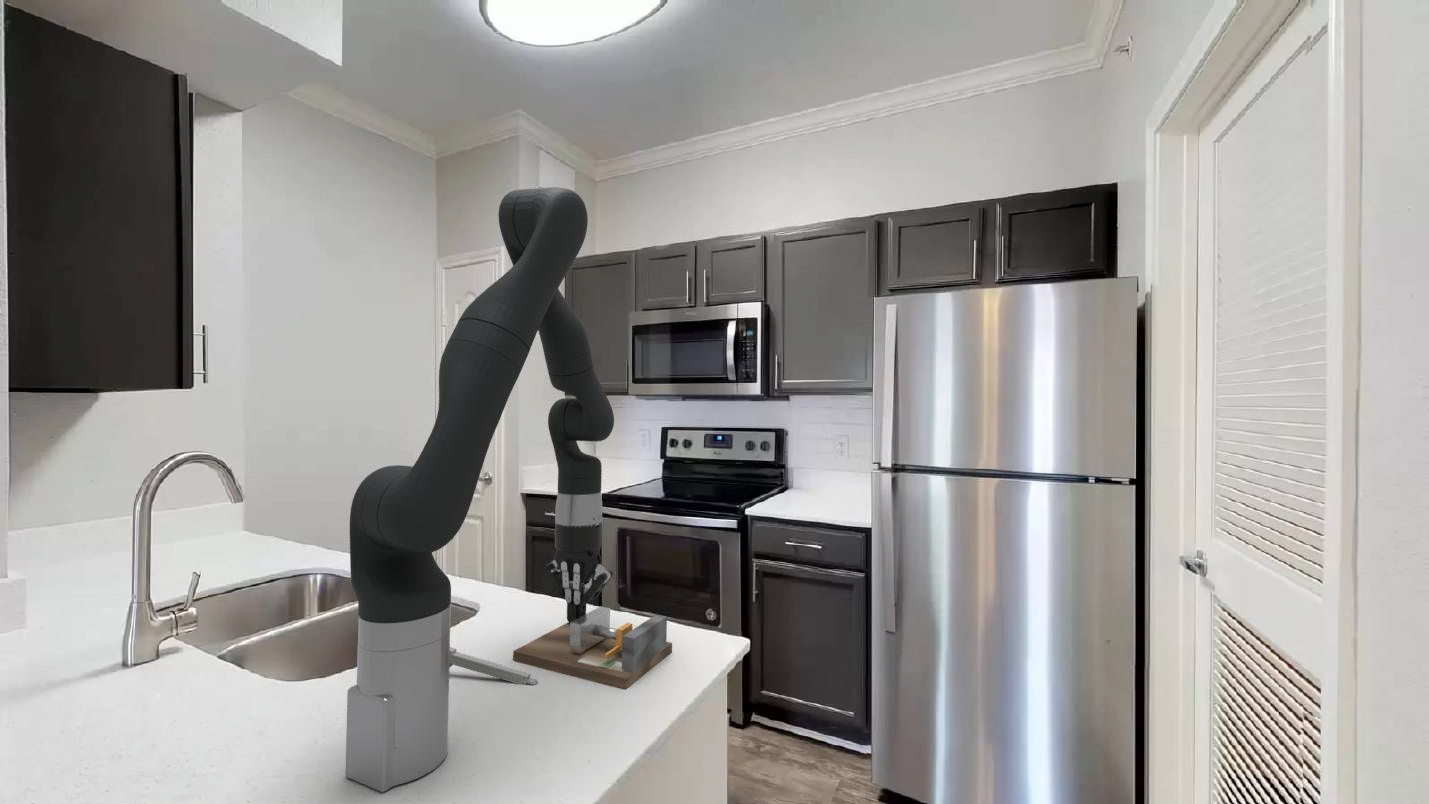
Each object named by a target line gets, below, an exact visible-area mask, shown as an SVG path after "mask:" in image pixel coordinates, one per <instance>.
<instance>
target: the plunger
mask: <svg viewBox="0 0 1429 804" xmlns="http://www.w3.org/2000/svg"><path fill="white" fill-rule="evenodd" d="M610 623H611V608H610V607H604V606H601V605H600V606H599V607H596V608H595V609H593V610H591V611H588V612H586V614H585V615H583V616H581V617H579V618H577V619H576V620H574V621H572V622H570V651H572V652H576V653H582V652H583V651H585V650H586V649H588V648H590V647H591V646H593V645H595V644H596V643H598V642H599V641H601V640H603V639H604V638H610V639H614V640H616V635H617V629H618V628H614V627H611V624H610Z"/></svg>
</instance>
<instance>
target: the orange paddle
mask: <svg viewBox="0 0 1429 804" xmlns="http://www.w3.org/2000/svg"><path fill="white" fill-rule="evenodd" d="M616 629H617V635H616V647H615V648H613V649H612V650H610V651H609V652H607V653H606V654H605V658H606V659H607V658H609V657H610V656H612V655H613V654H615V653H616V652H617V651H619V650H622V636H624V635H625V634H627V633H628V632H630V631H631V630H633V623H630V622H626V623H624V624H622V625H621V626H620V627H617V628H616Z"/></svg>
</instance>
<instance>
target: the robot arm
mask: <svg viewBox="0 0 1429 804" xmlns="http://www.w3.org/2000/svg"><path fill="white" fill-rule="evenodd" d="M497 214H498V224H499V229H500V233H501V237H502V240H503V244H504V246H505V249H506V251H507V254H508V256H509V258H510V261H511V263H512V266H511V268H509V270H507V272H505V274H503V275H502V276H501V277H500V278H498V279H497V280H496V281H495V282H493V283H492V284H491V285H489V286H488V287H487V288H486V289H485V290H483V292H481V293H480V294H479V295H478V296H476V298H475V299H473V301H472V302H471V303H470V304H469V305H468V306H467V308H465V310H464V311H463V313H462V315H460V318H459V319H458V321H457V323H456V325H455V328H454V329H453V331H452V333H451V335H450V337H449V338H448V341H447V343H446V345H445V347H444V350H443V353H442V355H441V358H440V363H439V367H438V368H439V370H438V371H439V372H438V410H437V413H436V417H435V418H436V419H435V422H434V425H433V427H432V431H431V433H430V434H429V436H428V438H427V441H426V443H425V444H424V447H423V448H422V451H421V452H420V455H419V456H418V458H417V460H416V461H415V463H414V465H412V466H411V465H399V464H396V465H387V466H383V467H380V468H378V469H376V470H374V471H373V472H371V473H369V474H368V475H367V476H366V477H364V479H363V480H362V481H361V482H360V484H359V485H358V487H357V489H356V490H355V493H354V495H353V498H352V501H351V506H350V515H349V558H350V562H349V565H350V566H349V567H350V579H351V586H352V589H353V592H354V595H355V597H356V599H357V604H358V613H357V614H358V618H357V619H358V620H357V621H358V623H357V626H358V628H357V650H356V651H357V654H356V655H357V659H356V662H357V663H356V684H354V685H353V686H351V687H349V688H348V690H347V696H346V697H347V698H346V702H347V703H346V734H345V735H346V736H345V737H346V739H345V741H346V742H345V777H346V778H349V779H351V780H353V781H356V782H357V783H360V784H362V785H365V786H367V787H369V788H371V789H374V790H377V791H378V792H381V793H383V792H386V791H388V790H389V789H391V788H392V787H395V786H399V785H402V784H406V783H409V782H412V781H414V780H416V779H419V778H422V777H423V776H426V775H427V774H428V773H430V772H432V771H433V770H435V769H437V767H438V766H440V765H441V763H442V762H443V761H444V760H445V758H446V757H447V754H448V745H449V743H448V741H449V740H448V738H449V737H448V735H449V701H450V700H449V696H450V695H449V694H450V668H449V659H450V647H451V619H452V618H451V615H452V614H451V613H452V612H451V611H452V603H451V601H452V584H451V581H450V579H449V577H448V575H447V574H445V572H444V571H443V570H442V569H441V568H440V567H439V565H438V564H437V562H436V559H435V557H434V555H433V553H434V552H437V551H439V550H441V549H443V548H444V547H445V546H447V544H449V543H450V542H451V541H452V540H453V539H454V538H455V536H456V535H457V534H458V532H459V531H460V530H461V528H462V526H463V524H464V522H465V520H466V518H467V516H468V513H469V510H470V507H471V505H472V501H473V498H474V494H475V492H476V489H477V485H478V481H479V478H480V476H481V473H482V469H483V466H484V462H485V460H486V457H487V453H488V450H489V447H490V444H491V441H492V439H493V437H494V434H495V432H496V429H497V428H498V425H499V423H500V420H501V417H502V415H503V412H504V410H505V407H506V405H507V403H508V400H509V398H510V395H511V393H512V391H513V389H514V386H515V385H516V384H517V383H516V382H517V381H518V378H519V377H520V375H521V372H522V370H523V367H524V365H525V362H526V360H527V358H528V356H529V353H530V351H531V348H532V346H533V344H534V340H535V338H536V335H537V334H538V333H539V338H540V342H541V346H542V349H543V354H544V359H545V364H546V369H547V373H548V377H549V381H550V385H552V387H553V388H554V389H555V390H557V391H560V392H563V393H567V394H570V395H572V396H573V397H575V398H571V397H570V398H567V397H565V398H564V397H563V398H560V399H558V400H556V401H555V402H554V403H553V404H552V406H551V408H550V409H549V413H548V417H547V426H548V430H549V431H548V432H549V436H550V439H551V443H552V447H553V450H554V451H553V452H554V456H555V460H556V465H557V496H556V502H555V513H554V514H555V515H554V516H555V517H554V519H555V521H554V525H555V526H554V548H555V549H556V552H555V554H554V560H552V561H550V562H549V563H547V564H544V565H543V567H542V570H543V573H544V574H545V575H546V577H547V579H548V581H549V583H550V585H551V586H552V588H553V590H554V592H555V594H556V596H557V597H559V598H563V599H565V602H566V619H567V621H568V622H569V625H570V622H572V621H574V620H576V619H577V618H579V617H581V616H583V615H585V614H587V603H588V602H590V601H591V600H594V599H596V598H598V596H599V595H600V593H601V592H602V591H603V590H604V588H606V585H608V583H609V582H610V581H611V579H612V578H613V576H614V573H613V571H612V570H607V569H606V568H605V567H604V566H603V565H602V563H603V562H602V557H601V554H600V551H601V547H602V534H603V529H602V527H603V500H602V477H603V476H602V472H603V471H602V461H601V460H600V458H598V457H596V456H594V455H590V454H588V453H584V452H582V451H581V449H580V447H579V445H578V442H602V441H604V440H606V439H608V438H609V436H610V435H611V433H612V432H613V430H614V424H615V416H614V411H613V407H612V405H611V402H610V400H609V399H608V397H607V394H606V393H605V391H604V389H603V387H602V384H601V382H600V380H599V377H597V374H596V372H595V367H594V363H593V359H592V353H591V347H590V341H589V338H588V335H587V332H586V330H585V327H584V325H583V323H582V322H581V319H580V318H579V317H578V315H577V314H576V312H575V311H574V309H573V308H572V307H571V306H570V304H569V303H568V302H567V300H566V298H565V297H564V295H563V294H562V292H561V291H560V286H561V284H562V282H563V280H564V278H565V277H566V276H567V273H569V272H568V271H569V270H570V269H571V267H572V265H573V263H574V262H575V260H576V258H577V256H578V255H579V253H580V251H581V248H582V247H583V244H584V241H585V239H586V237H587V236H586V235H587V232H588V231H587V230H588V226H589V225H588V221H589V219H588V218H589V217H588V210H587V207H586V203H585V201H584V200H583V198H582V197H581V195H579V194H578V193H577V192H576V191H574V190H572V189H570V188H566V187H565V188H564V187H558V186H553V187H552V186H551V187H540V188H539V187H538V188H523V189H516V190H512V191H509V192H507V193H506V194H505V195H504V197H503V198H502V199H501V202H500V204H499V207H498V213H497ZM593 580H594V581H593ZM592 581H593V582H592Z"/></svg>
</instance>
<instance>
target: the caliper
mask: <svg viewBox="0 0 1429 804" xmlns="http://www.w3.org/2000/svg"><path fill="white" fill-rule="evenodd" d="M453 665H454V666H457V667H460V668H463V669H467V670H470V671H473V672H476V673H480V674H483V675H487V676H489V677H493V678H496V679H500V680H503V681H505V682H509V683H513V684H515V685H527V684H528V685H531V686H535V685H537V683H538V682H539V681H538V680H537V679H536V678H533V677H531V673H529V672H526V671H522V670H519V669H515V668H512V667H509V666H506V665H502V664H498V663H495V662H491V661H489V660H485V659H482V658H478V657H475V656H471V655H467V654H465V653H462V652H457V648H454V647H451V646H450V659H449V669H450V668H452V666H453Z"/></svg>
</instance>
